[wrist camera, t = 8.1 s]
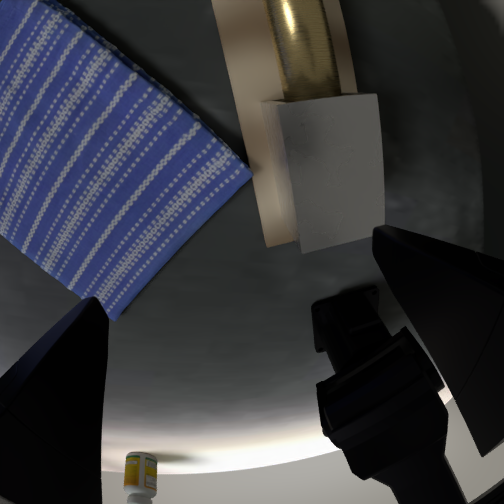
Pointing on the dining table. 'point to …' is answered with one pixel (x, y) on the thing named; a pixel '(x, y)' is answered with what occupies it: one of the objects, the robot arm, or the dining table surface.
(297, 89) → the tube
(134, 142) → the dish towel
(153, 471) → the supplement bottle
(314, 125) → the sleeve
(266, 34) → the mounting board
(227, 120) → the dining table surface
